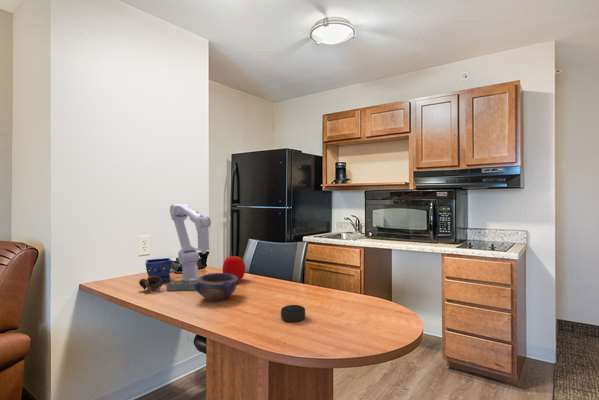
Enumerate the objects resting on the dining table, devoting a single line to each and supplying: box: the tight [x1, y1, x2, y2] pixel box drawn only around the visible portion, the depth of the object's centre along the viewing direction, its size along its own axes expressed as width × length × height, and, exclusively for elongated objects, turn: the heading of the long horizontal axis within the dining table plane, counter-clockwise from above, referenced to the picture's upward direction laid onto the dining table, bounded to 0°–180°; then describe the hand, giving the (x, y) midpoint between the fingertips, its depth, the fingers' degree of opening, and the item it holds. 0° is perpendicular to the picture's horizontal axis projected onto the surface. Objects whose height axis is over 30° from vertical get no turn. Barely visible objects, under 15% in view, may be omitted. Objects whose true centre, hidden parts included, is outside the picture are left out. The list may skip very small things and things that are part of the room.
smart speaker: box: [280, 304, 306, 323], centre depth 124 cm, size 9×9×4 cm
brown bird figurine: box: [138, 276, 164, 294], centre depth 170 cm, size 12×10×8 cm
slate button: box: [189, 278, 198, 284], centre depth 172 cm, size 4×4×4 cm
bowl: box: [194, 272, 241, 302], centre depth 153 cm, size 18×18×10 cm
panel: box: [166, 280, 196, 292], centre depth 172 cm, size 8×24×3 cm, turn 87°
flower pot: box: [145, 257, 172, 284], centre depth 191 cm, size 13×13×12 cm
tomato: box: [222, 254, 246, 281], centre depth 186 cm, size 13×11×14 cm
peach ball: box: [174, 277, 184, 284], centre depth 173 cm, size 4×4×4 cm
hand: (204, 265), depth 180 cm, fingers closed
